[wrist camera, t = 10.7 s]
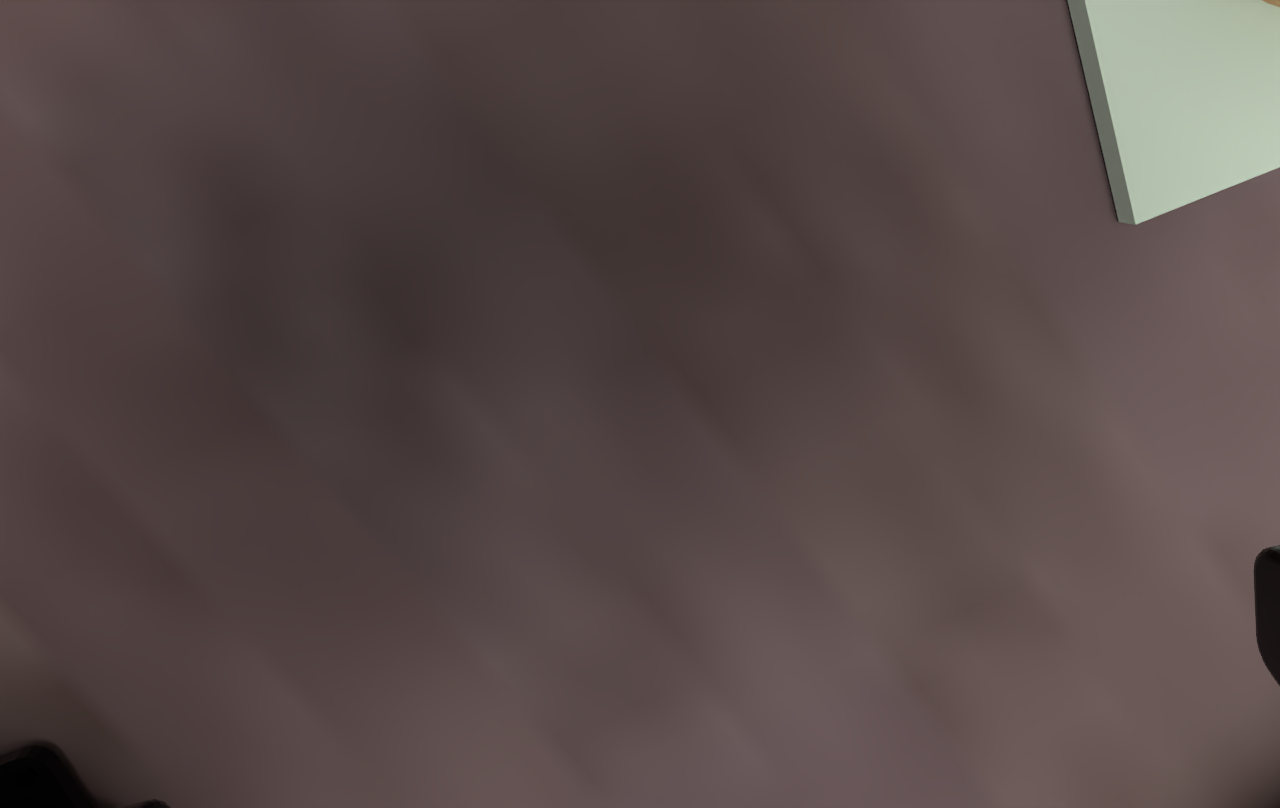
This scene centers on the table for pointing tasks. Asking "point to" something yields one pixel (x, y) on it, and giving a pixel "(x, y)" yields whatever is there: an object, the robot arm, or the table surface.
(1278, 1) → the plug
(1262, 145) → the mat
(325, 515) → the table surface
